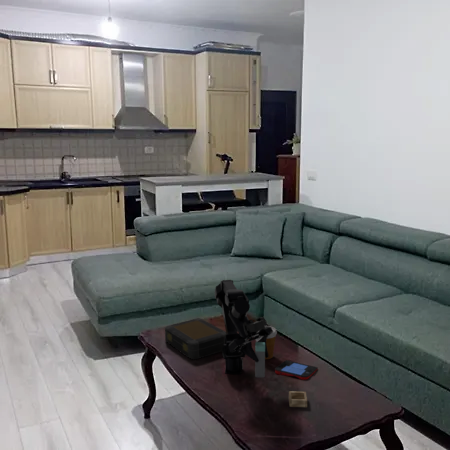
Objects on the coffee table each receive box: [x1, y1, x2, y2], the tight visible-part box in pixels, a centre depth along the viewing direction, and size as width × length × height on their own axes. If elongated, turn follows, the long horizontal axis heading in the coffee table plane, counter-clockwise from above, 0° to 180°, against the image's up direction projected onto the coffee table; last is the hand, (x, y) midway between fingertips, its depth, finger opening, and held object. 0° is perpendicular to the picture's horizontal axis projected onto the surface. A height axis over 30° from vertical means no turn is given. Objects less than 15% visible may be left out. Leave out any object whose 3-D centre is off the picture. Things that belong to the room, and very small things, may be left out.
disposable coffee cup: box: [257, 325, 278, 360], centre depth 212 cm, size 10×10×12 cm
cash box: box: [164, 317, 226, 360], centre depth 225 cm, size 25×20×8 cm
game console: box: [274, 359, 319, 381], centre depth 199 cm, size 14×13×2 cm
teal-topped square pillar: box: [254, 341, 266, 378], centre depth 181 cm, size 3×3×12 cm
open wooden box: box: [288, 390, 308, 408], centre depth 175 cm, size 6×6×3 cm
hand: (262, 359), depth 180 cm, fingers closed on teal-topped square pillar, 5 cm apart
